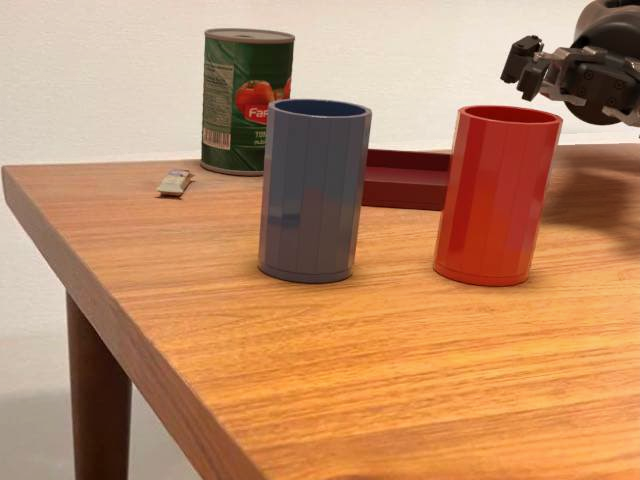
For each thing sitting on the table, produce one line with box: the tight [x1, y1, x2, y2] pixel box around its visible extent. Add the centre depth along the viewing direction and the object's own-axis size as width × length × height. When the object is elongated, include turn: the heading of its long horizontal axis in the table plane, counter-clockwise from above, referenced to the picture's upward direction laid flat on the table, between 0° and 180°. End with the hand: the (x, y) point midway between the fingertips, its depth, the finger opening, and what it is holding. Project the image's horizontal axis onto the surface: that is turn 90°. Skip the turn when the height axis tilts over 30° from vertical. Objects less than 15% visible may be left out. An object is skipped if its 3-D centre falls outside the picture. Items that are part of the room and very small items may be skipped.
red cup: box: [432, 104, 564, 287], centre depth 64 cm, size 6×6×10 cm
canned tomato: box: [199, 27, 296, 177], centre depth 87 cm, size 8×8×11 cm
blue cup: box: [257, 98, 373, 284], centre depth 63 cm, size 6×6×10 cm
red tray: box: [361, 147, 451, 211], centre depth 84 cm, size 15×13×2 cm
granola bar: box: [154, 168, 196, 196], centre depth 81 cm, size 7×1×3 cm
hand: (590, 105), depth 67 cm, fingers open, 8 cm apart
